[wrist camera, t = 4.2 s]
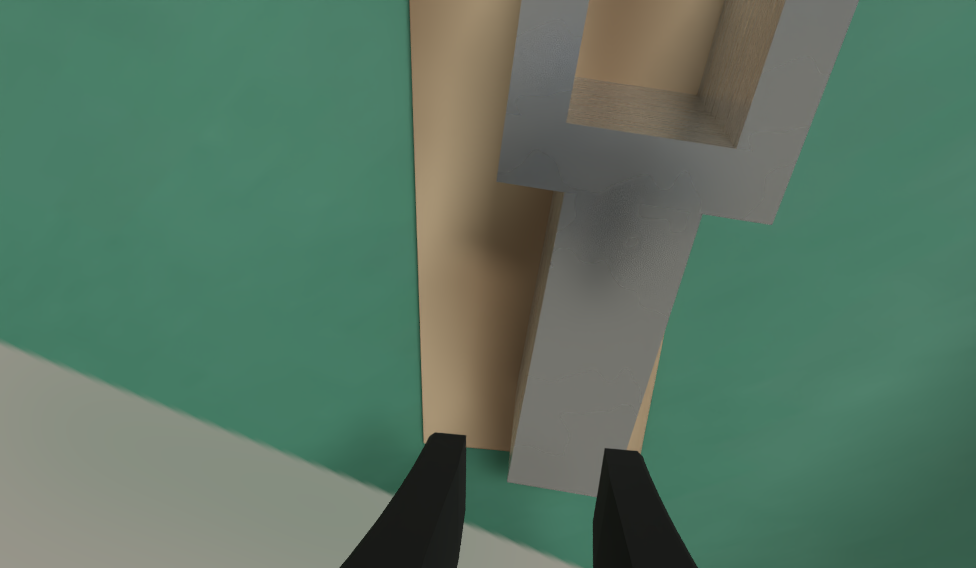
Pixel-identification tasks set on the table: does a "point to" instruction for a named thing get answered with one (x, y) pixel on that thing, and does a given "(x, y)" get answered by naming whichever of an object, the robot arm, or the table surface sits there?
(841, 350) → the table surface
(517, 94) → the steel fork
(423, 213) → the cork mat
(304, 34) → the table surface
